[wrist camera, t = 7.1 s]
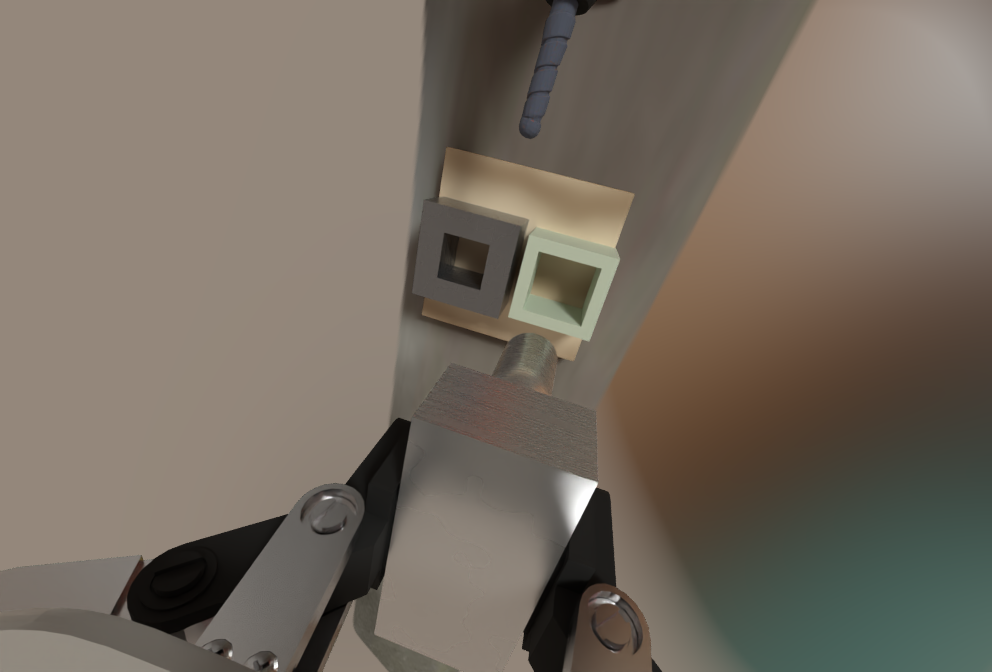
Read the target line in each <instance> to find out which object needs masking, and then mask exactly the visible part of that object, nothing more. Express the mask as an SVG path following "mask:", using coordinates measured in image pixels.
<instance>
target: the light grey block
mask: <svg viewBox="0 0 992 672" xmlns="http://www.w3.org/2000/svg"><path fill="white" fill-rule="evenodd" d="M556 366H557V353H556V350H555V348H554V346H553V345H552V343H551V342H550V341H549V340H548V339H546V338H545V337H543V336H541V335H538V334H535V333H522V334H519V335H516V336H514V337H513V338H512V339H510V340H509V342H508V343H507V344H506V346H505V348H504V350H503V352H502V355H501V357H500V359H499V361H498V363H497V365H496V367H495V369H494V371H493V373H492V376H490V375H487V374H484V373H481V372H478V371H475V370H472V369H469V368H466V367H463V366H460V365H457V364H454V363H451V364H450V365H449V366H448V368H447V369H446V371H445V372H444V373H443V375H442V376H441V377H440V379H439V380H438V382H437V383H436V384H435V386H434V387H433V389H432V390H431V391H430V393H429V394H428V396H427V397H426V398H425V400H424V401H423V402H422V404H421V405H420V407H419V408H418V409H417V411H416V412H415V414H414V415H413V416H412V420H411V426H410V432H409V437H408V443H407V449H406V455H405V460H404V466H403V472H402V478H401V483H400V489H399V495H398V501H397V506H396V512H395V518H394V524H393V529H392V535H391V541H390V547H389V552H388V558H387V564H386V570H385V575H384V581H383V587H382V593H381V598H380V604H379V610H378V616H377V621H376V627H375V633H374V634H375V635H378V636H380V637H382V638H385V639H387V640H389V641H392V642H394V643H397V644H399V645H401V646H404V647H406V648H408V649H411V650H413V651H416V652H418V653H420V654H423V655H425V656H427V657H430V658H432V659H435V660H437V661H439V662H442V663H444V664H446V665H449V666H451V667H454V668H456V669H458V670H461V671H463V672H503V670H504V668H505V666H506V664H507V662H508V660H509V658H510V656H511V654H512V652H513V650H514V648H515V646H516V644H517V642H518V640H519V638H520V636H521V634H522V633H523V631H524V629H525V627H526V625H527V623H528V621H529V619H530V617H531V615H532V613H533V611H534V609H535V607H536V605H537V603H538V601H539V599H540V597H541V595H542V593H543V591H544V589H545V587H546V585H547V583H548V581H549V579H550V577H551V575H552V573H553V571H554V569H555V567H556V565H557V563H558V561H559V559H560V557H561V555H562V553H563V551H564V549H565V547H566V545H567V543H568V541H569V539H570V538H571V536H572V534H573V532H574V530H575V528H576V526H577V524H578V522H579V520H580V518H581V516H582V514H583V512H584V510H585V508H586V506H587V504H588V502H589V500H590V498H591V496H592V494H593V492H594V490H595V488H596V486H597V484H598V463H597V462H598V460H597V429H596V428H597V427H596V411H595V410H592V409H589V408H586V407H583V406H580V405H577V404H574V403H571V402H568V401H565V400H562V399H559V398H556V397H553V396H552V391H553V385H554V378H555V372H556Z"/></svg>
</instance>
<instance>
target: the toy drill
mask: <svg viewBox="0 0 992 672" xmlns="http://www.w3.org/2000/svg"><path fill="white" fill-rule="evenodd" d="M546 1H547V3H548V4H549V5H550V6H551V7H552V8H551V11H550V15H549V17H548V18H547V20H546V23H545V27H544V32H543V38H542V44H541V46H542V47H541V48H540V52H539V55H538V59H537V62H536V66H535V70H534V76H533V77H532V80H531V84H530V87H529V91H528V95H527V101H526V102H525V106H524V110H523V114H522V118H521V120H520V124H519V131H520V133H521V135H522V136H524V137H525V138H529V139H532V138H534V137H536V136H537V135H538V133H539V131H540V128H541V124H540V121H541V119H542V117H543V116H544V114H545V111H546V109H547V106H548V103H549V98H550V96H549V92H551V91H552V88H553V85H554V82H555V79H556V76H557V72H558V71H557V66H559V65H560V63H561V60H562V58H563V55H564V53H565V51H566V48H567V40H568V39H570V37H571V34H572V31H573V28H574V25H575V15H582V14H584V13H586V12H587V11H588V10H589V9H590V7H591V6H592V5H593V4H594V3H595V2H596V1H597V0H546Z"/></svg>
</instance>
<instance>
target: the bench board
mask: <svg viewBox="0 0 992 672" xmlns="http://www.w3.org/2000/svg"><path fill="white" fill-rule="evenodd" d="M634 195H635V194H633V193H631V192H627V191H623V190H619V189H615V188H611V187H607V186H603V185H599V184H595V183H591V182H587V181H583V180H579V179H575V178H571V177H567V176H563V175H559V174H555V173H551V172H547V171H543V170H539V169H535V168H531V167H527V166H523V165H519V164H515V163H511V162H507V161H503V160H499V159H495V158H491V157H488V156H484V155H480V154H476V153H472V152H468V151H464V150H460V149H456V148H450V147H446V153H445V160H444V167H443V174H442V180H441V187H440V194H439V197H448V198H452V199H455V200H459V201H463V202H466V203H470V204H474V205H478V206H481V207H485V208H489V209H493V210H496V211H500V212H504V213H508V214H511V215H515V216H519V217H523V218H526V219H529V222H528V226H527V230H526V234H525V238H524V242H523V246H522V250H521V254H520V258H519V262H518V266H517V270H516V274H515V278H514V282H513V285H512V289H511V293H510V297H509V301H508V304H507V305H506V307H505V309H504V310H503V312H502V313H501V315H500V317H499V318H498V319H496V318H493V317H489V316H486V315H483V314H479V313H476V312H473V311H469V310H466V309H463V308H459V307H456V306H453V305H449V304H446V303H443V302H439V301H436V300H433V299H429V298H426V297H424V304H423V311H422V315H424V316H427V317H430V318H433V319H437V320H440V321H443V322H446V323H450V324H453V325H456V326H460V327H463V328H466V329H469V330H473V331H476V332H479V333H482V334H486V335H489V336H492V337H496V338H499V339H502V340H505V341H509V340H510V339H512V338H513V337H514V336H516V335H519V334H522V333H535V334H538V335H541V336H543V337H545V338H546V339H548V340H549V341H550V342H551V343H552V345H553V346H554V348H555V350H556V353H557V356H558V357H561V358H564V359H568V360H571V361H574V359H575V356H576V354H577V351H578V348H579V345H580V343H581V340H582V339H580V338H576V337H573V336H570V335H566V334H563V333H560V332H556V331H553V330H549V329H546V328H543V327H539V326H536V325H533V324H529V323H526V322H523V321H519V320H516V319H513V318H509V317H508V316H509V312H510V308H511V304H512V300H513V296H514V292H515V288H516V285H517V281H518V277H519V273H520V269H521V265H522V261H523V257H524V254H525V250H526V246H527V242H528V238H529V235H530V234H531V233H532V231H533V230H534V229H535V228H536V227H538V228H542V229H546V230H550V231H553V232H557V233H561V234H564V235H568V236H572V237H576V238H579V239H583V240H587V241H591V242H594V243H598V244H602V245H605V246H609V247H613V248H615V247H616V244H617V241H618V238H619V236H620V233H621V230H622V227H623V225H624V222H625V219H626V217H627V214H628V211H629V208H630V206H631V203H632V200H633V197H634ZM489 247H490V245H487V244H484V243H480V242H477V241H473V240H469V239H466V238H462V237H459V241H458V247H457V253H456V258H455V264H454V266H457V267H460V268H464V269H467V270H471V271H474V272H478V273H481V274H484V270H485V265H486V261H487V256H488V251H489ZM595 270H596V267H593V266H590V265H586V264H583V263H579V262H575V261H572V260H568V259H565V258H561V257H557V256H554V255H550V254H546V253H543V252H542V253H541V257H540V260H539V264H538V268H537V271H536V275H535V278H534V282H533V286H532V289H531V293H530V294H533V295H536V296H540V297H543V298H546V299H550V300H553V301H557V302H560V303H564V304H567V305H571V306H574V307H578V308H581V309H582V307H583V305H584V302H585V299H586V296H587V293H588V290H589V287H590V285H591V282H592V279H593V276H594V273H595Z"/></svg>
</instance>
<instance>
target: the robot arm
mask: <svg viewBox="0 0 992 672" xmlns="http://www.w3.org/2000/svg"><path fill="white" fill-rule="evenodd" d="M410 426H411V422H410V421H407V420H404V419H401V418H398V419H396V420H395V421H394V422H393V424H392V425H391V426H390V427H389V429H388V430H387V431H386V433H385V434H384V435H383V436H382V438H381V439H380V440H379V442H378V443H377V444H376V445H375V447H374V448H373V449H372V451H371V452H370V453H369V454H368V456H367V457H366V458H365V460H364V461H363V462H362V463H361V465H360V466H359V467H358V469H357V470H356V471H355V473H354V474H353V475H352V476H351V477H350V479H349V480H348V481H347V483H346V484H337V483H333V484H325V485H322V486H319V487H316V488H314V489H312V490H310V491H309V492H307V493H306V494H304V495H303V496H302V498H301V499H300V500H299V501H298V502H297V503H296V504H295V506H294V507H293V509H292V510H291V511H290V513H289V514H286V515H283V516H280V517H276V518H273V519H269V520H266V521H262V522H259V523H255V524H252V525H248V526H245V527H241V528H238V529H234V530H231V531H228V532H224V533H221V534H217V535H214V536H210V537H207V538H203V539H200V540H196V541H193V542H189V543H186V544H183V545H180V546H178V547H175V548H172V549H170V550H168V551H166V552H165V553H163V554H161V555H159V556H158V557H156V558H155V559H151V560H143V558H142V555H137V556H127V557H117V558H107V559H97V560H86V561H76V562H66V563H55V564H45V565H35V566H25V567H17V568H12V569H8V570H3V571H0V672H323V669H324V667H325V664H326V662H327V660H328V658H329V655H330V653H331V651H332V648H333V646H334V643H335V642H336V639H337V637H338V634H339V632H340V630H341V628H342V625H343V623H344V621H345V618H346V616H347V614H348V611H349V609H350V606H351V604H352V602H353V600H355V599H357V598H360V597H362V596H364V595H367V593H368V591H369V590H370V588H373V589H376V590H377V589H378V587H379V585H380V583H381V581H382V579H383V577H384V575H385V570H386V564H387V558H388V552H389V547H390V541H391V535H392V529H393V524H394V518H395V512H396V506H397V501H398V495H399V489H400V483H401V478H402V472H403V466H404V460H405V455H406V449H407V443H408V437H409V432H410ZM523 632H524V637H523V644H522V649H524V650H526V651H529V659H528V660H529V663H530V665H531V666H532V668H533V670H534V672H662V671H661V670H660V668H659V667H658V666H657V664H656V663H655V661H654V660H653V659H652V657H651V638H650V632H649V627H648V624H647V622H646V619H645V617H644V615H643V613H642V612H641V610H640V609H639V607H638V606H637V604H636V603H635V602H634V601H633V600H632V599H631V598H630V597H629V596H628V595H627V594H626V593H624V592H623V591H621V590H620V589H618V588H617V587H616V576H615V561H614V546H613V531H612V517H611V501H610V494H609V492H607V491H605V490H602V489H599V488H595V490H594V492H593V494H592V496H591V498H590V500H589V502H588V504H587V506H586V508H585V510H584V512H583V514H582V516H581V518H580V520H579V522H578V524H577V526H576V528H575V530H574V532H573V534H572V536H571V538H570V539H569V541H568V543H567V545H566V547H565V549H564V551H563V553H562V555H561V557H560V559H559V561H558V563H557V565H556V567H555V569H554V571H553V573H552V575H551V577H550V579H549V581H548V583H547V585H546V587H545V589H544V591H543V593H542V595H541V597H540V599H539V601H538V603H537V605H536V607H535V609H534V611H533V613H532V615H531V617H530V619H529V621H528V623H527V625H526V627H525V629H524V631H523Z"/></svg>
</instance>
